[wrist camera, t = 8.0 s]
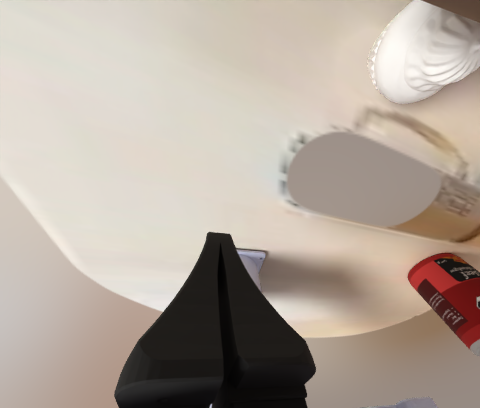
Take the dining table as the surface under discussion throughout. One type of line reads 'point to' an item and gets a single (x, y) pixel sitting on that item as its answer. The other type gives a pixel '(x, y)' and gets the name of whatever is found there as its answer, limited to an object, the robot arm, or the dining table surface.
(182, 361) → the robot arm
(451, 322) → the canned food
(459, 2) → the walnut shelf
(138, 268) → the dining table surface
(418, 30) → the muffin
